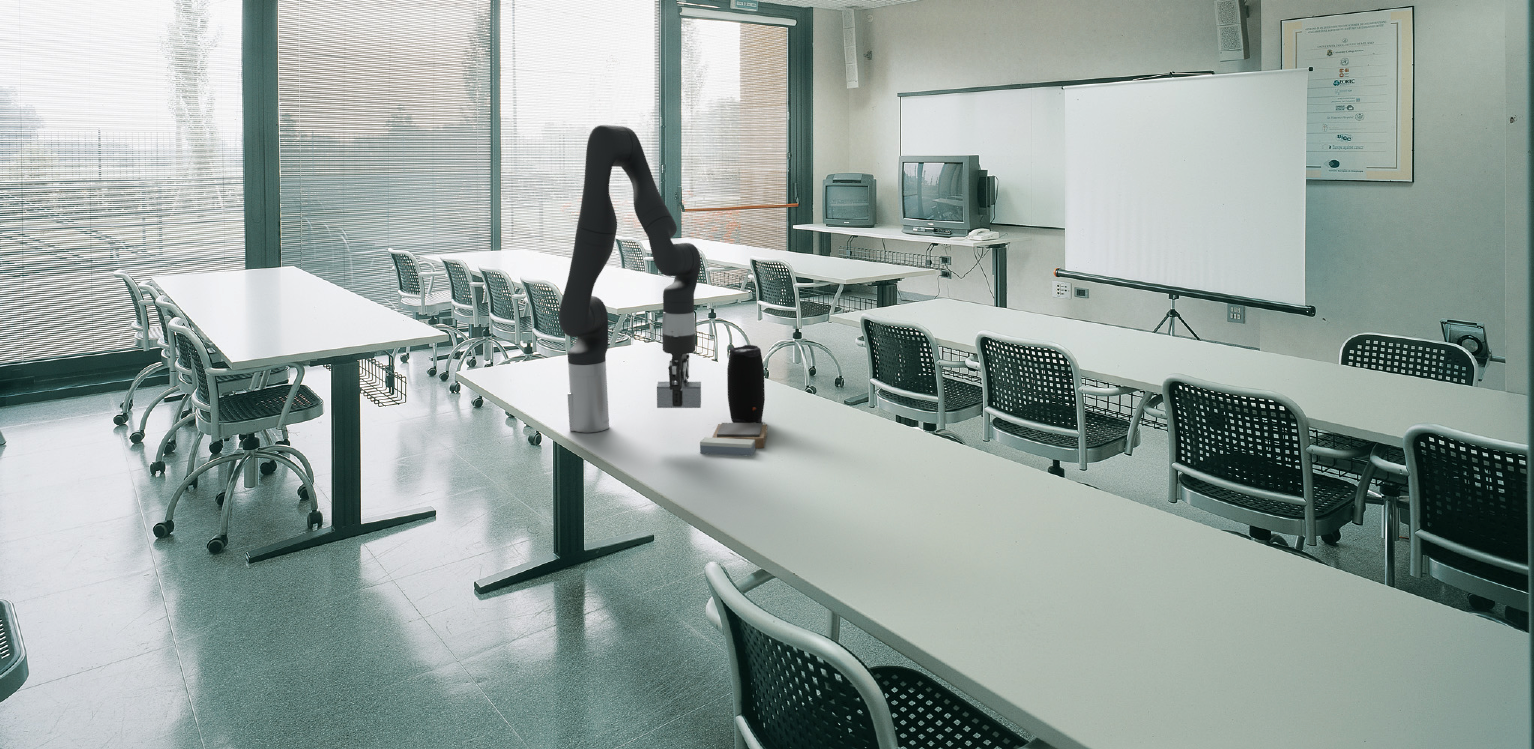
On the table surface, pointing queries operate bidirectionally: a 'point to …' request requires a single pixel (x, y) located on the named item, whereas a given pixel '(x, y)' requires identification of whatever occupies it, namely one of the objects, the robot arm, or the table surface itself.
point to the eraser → (727, 446)
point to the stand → (743, 432)
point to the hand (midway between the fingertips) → (679, 402)
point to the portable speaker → (746, 384)
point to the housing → (689, 395)
